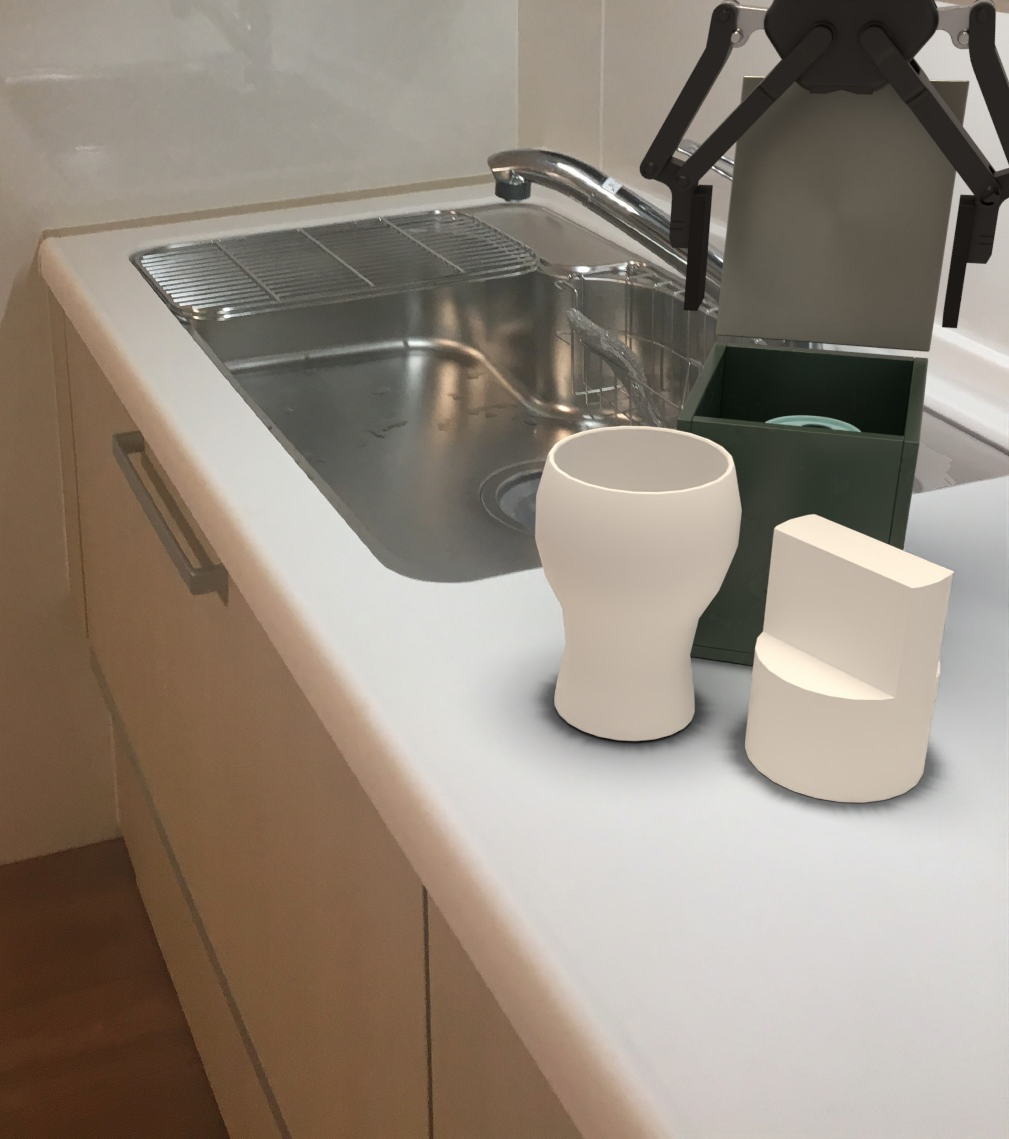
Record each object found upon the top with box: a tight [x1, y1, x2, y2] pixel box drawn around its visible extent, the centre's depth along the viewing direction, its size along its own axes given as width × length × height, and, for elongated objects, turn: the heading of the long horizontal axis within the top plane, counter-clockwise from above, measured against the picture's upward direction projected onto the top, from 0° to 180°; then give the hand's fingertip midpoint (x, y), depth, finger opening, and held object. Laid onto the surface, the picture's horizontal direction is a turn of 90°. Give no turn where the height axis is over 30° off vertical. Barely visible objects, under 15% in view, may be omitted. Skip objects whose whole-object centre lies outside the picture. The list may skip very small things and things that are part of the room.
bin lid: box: [714, 75, 970, 353], centre depth 94 cm, size 16×13×1 cm
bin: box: [675, 340, 929, 666], centre depth 94 cm, size 15×13×15 cm
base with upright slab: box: [744, 514, 954, 803], centre depth 80 cm, size 9×9×12 cm
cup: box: [534, 425, 742, 742], centre depth 84 cm, size 11×11×15 cm
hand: (818, 313), depth 87 cm, fingers open, 13 cm apart
